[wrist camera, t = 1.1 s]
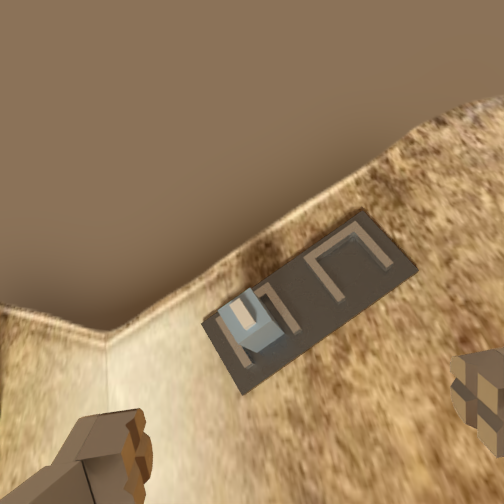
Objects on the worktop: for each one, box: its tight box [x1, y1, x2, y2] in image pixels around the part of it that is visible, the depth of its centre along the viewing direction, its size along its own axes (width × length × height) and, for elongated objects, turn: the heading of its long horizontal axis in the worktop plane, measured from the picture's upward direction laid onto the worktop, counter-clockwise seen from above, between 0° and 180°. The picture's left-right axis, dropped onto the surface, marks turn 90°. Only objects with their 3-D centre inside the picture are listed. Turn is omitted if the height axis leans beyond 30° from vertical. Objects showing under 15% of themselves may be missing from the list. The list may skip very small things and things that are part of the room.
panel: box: [201, 211, 419, 395], centre depth 45 cm, size 25×10×2 cm, turn 123°
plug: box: [217, 288, 285, 353], centre depth 40 cm, size 4×4×10 cm
